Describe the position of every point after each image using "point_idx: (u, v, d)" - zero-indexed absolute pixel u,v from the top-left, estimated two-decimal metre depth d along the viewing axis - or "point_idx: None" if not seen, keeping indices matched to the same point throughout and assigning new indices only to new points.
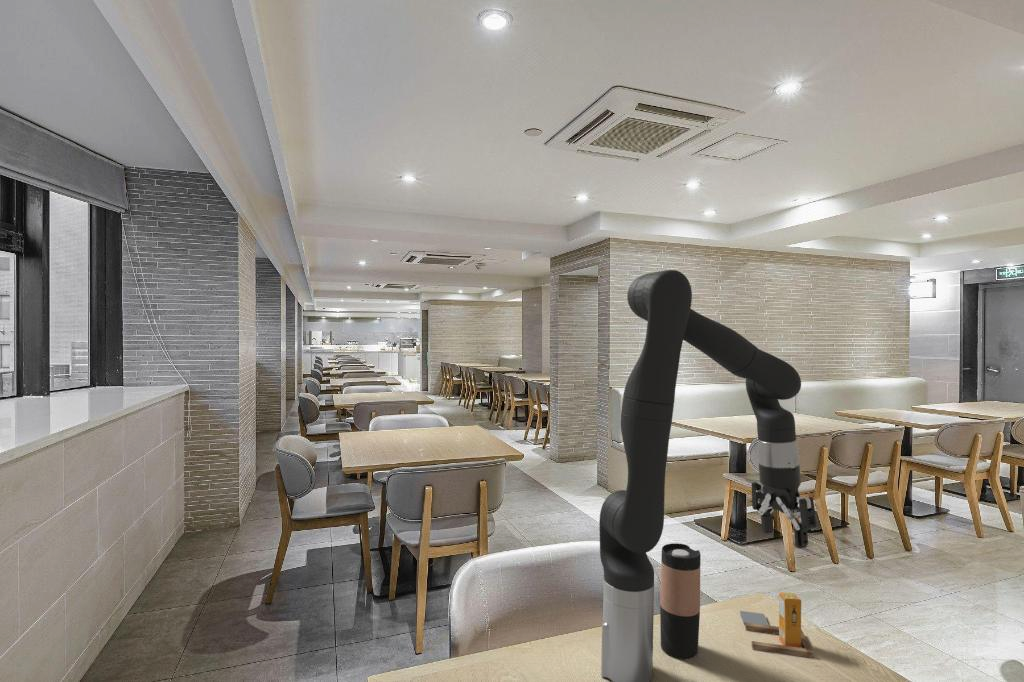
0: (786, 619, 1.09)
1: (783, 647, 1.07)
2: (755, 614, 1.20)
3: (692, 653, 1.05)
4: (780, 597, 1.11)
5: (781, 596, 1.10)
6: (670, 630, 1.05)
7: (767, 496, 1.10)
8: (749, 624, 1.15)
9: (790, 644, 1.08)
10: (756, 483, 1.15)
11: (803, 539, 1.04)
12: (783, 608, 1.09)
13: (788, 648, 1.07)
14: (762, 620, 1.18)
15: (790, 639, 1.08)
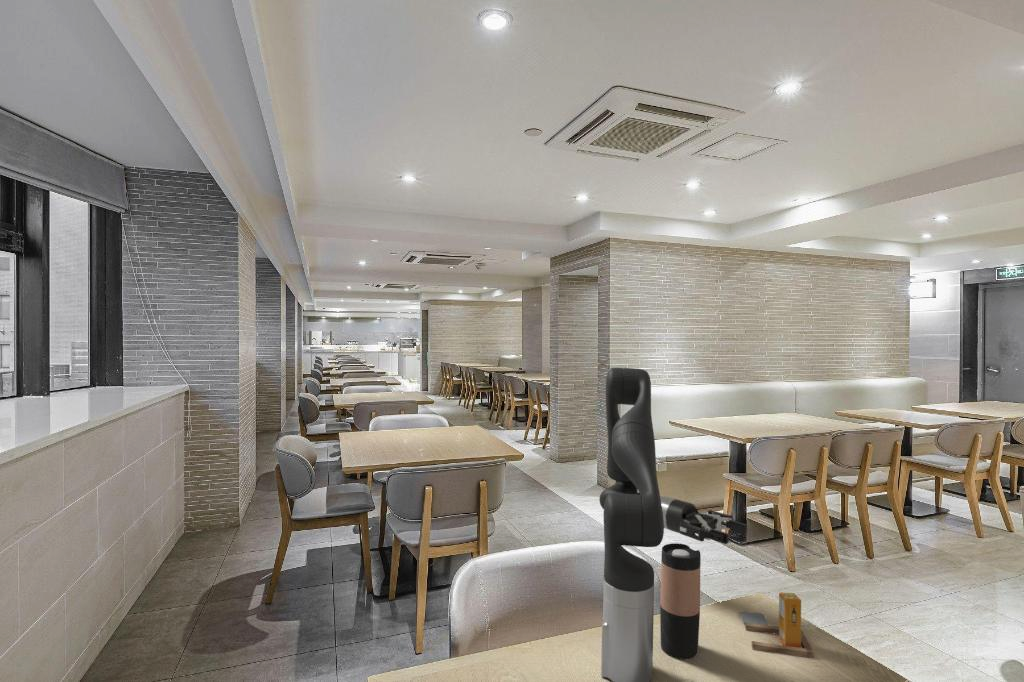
0: (786, 619, 1.09)
1: (783, 647, 1.07)
2: (755, 614, 1.20)
3: (692, 653, 1.05)
4: (780, 597, 1.11)
5: (781, 596, 1.10)
6: (670, 630, 1.05)
7: (697, 516, 1.24)
8: (749, 624, 1.15)
9: (790, 644, 1.08)
10: None
11: None
12: (783, 608, 1.09)
13: (788, 648, 1.07)
14: (762, 620, 1.18)
15: (790, 639, 1.08)
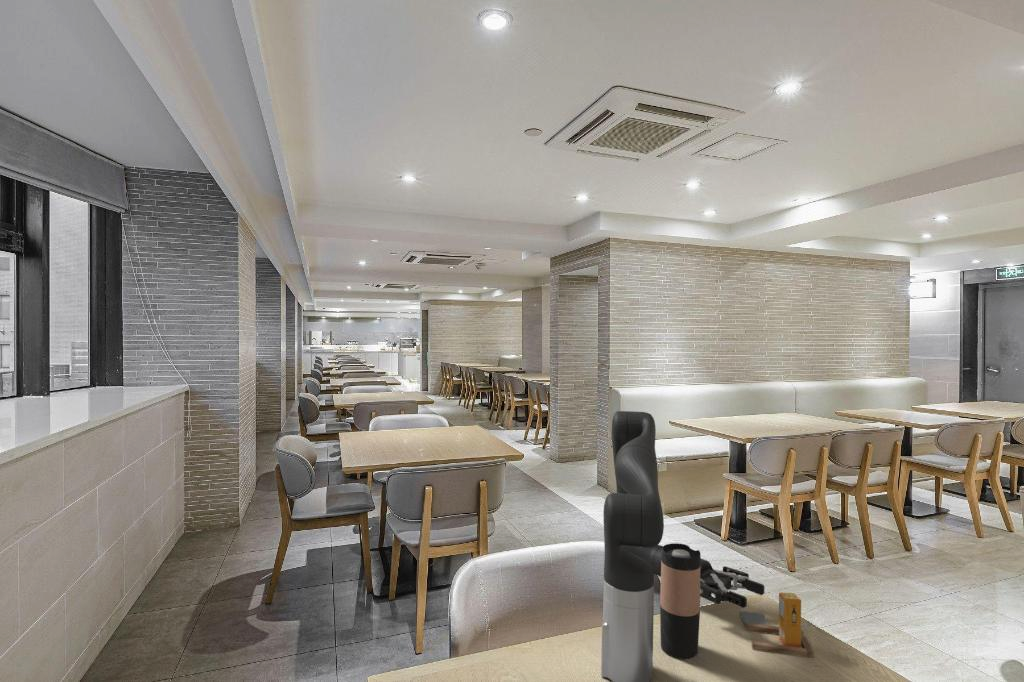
0: (786, 619, 1.09)
1: (783, 647, 1.07)
2: (755, 614, 1.20)
3: (692, 653, 1.05)
4: (780, 597, 1.11)
5: (781, 596, 1.10)
6: (670, 630, 1.05)
7: (712, 575, 1.21)
8: (749, 624, 1.15)
9: (790, 644, 1.08)
10: None
11: None
12: (783, 608, 1.09)
13: (788, 648, 1.07)
14: (762, 620, 1.18)
15: (790, 639, 1.08)
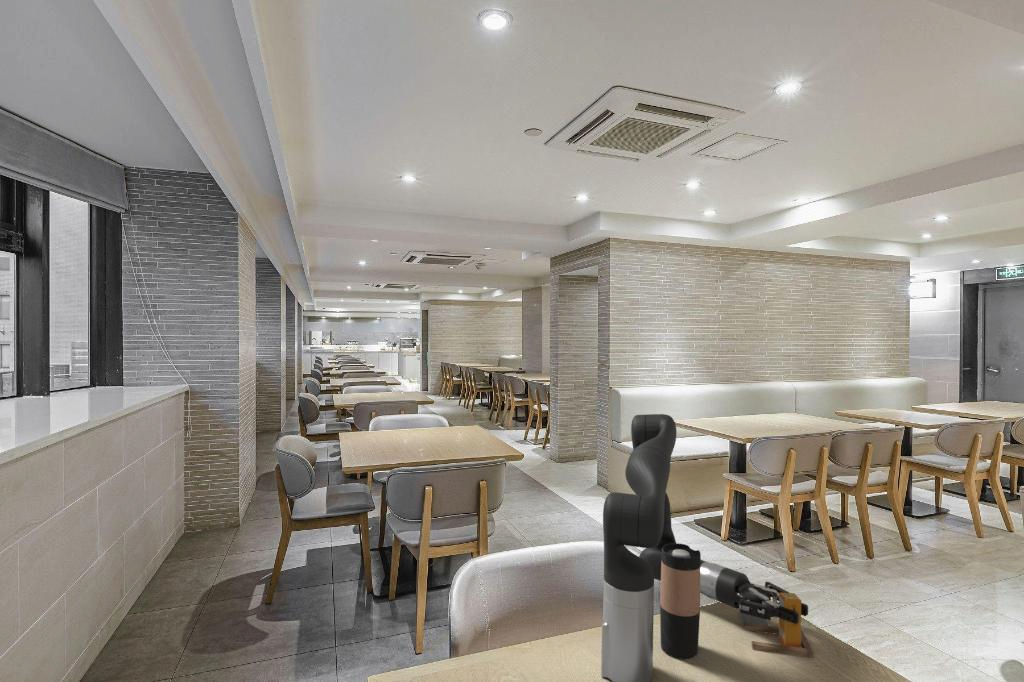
0: None
1: (783, 647, 1.07)
2: None
3: (692, 653, 1.05)
4: (780, 597, 1.11)
5: (781, 596, 1.10)
6: (670, 630, 1.05)
7: (752, 590, 1.14)
8: (749, 624, 1.15)
9: (790, 644, 1.08)
10: None
11: None
12: None
13: (788, 648, 1.07)
14: (762, 620, 1.18)
15: (790, 639, 1.08)
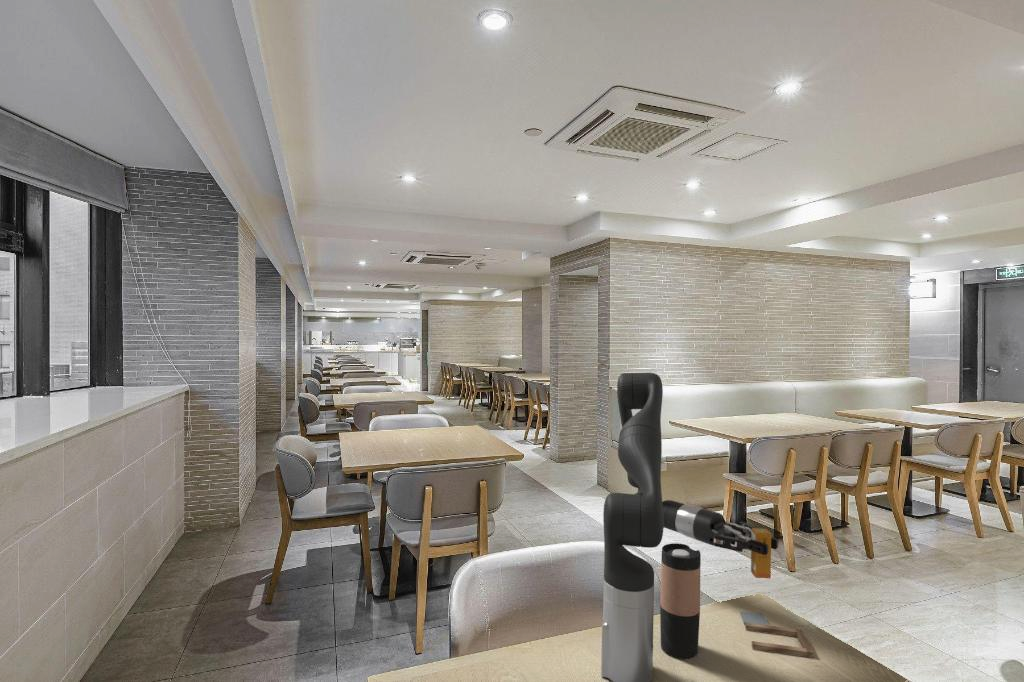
0: None
1: (783, 647, 1.07)
2: (755, 614, 1.20)
3: (692, 653, 1.05)
4: (752, 532, 1.18)
5: (753, 531, 1.18)
6: (670, 630, 1.05)
7: (726, 526, 1.22)
8: (749, 624, 1.15)
9: (760, 574, 1.16)
10: None
11: None
12: None
13: (788, 648, 1.07)
14: (762, 620, 1.18)
15: (760, 570, 1.16)
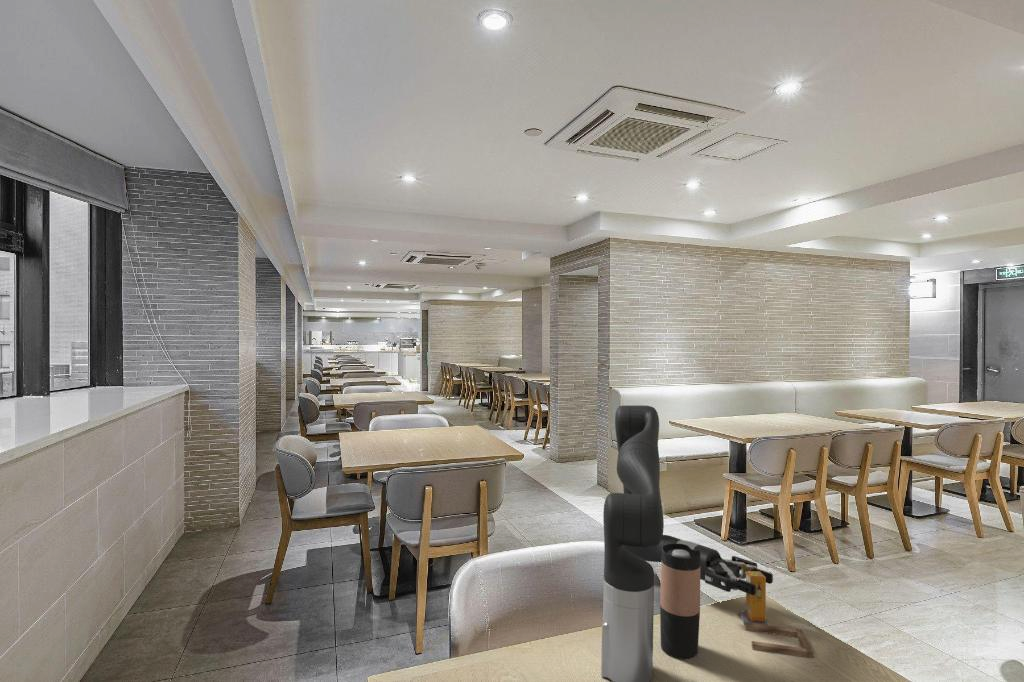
0: (751, 595, 1.17)
1: (783, 647, 1.07)
2: None
3: (692, 653, 1.05)
4: (747, 575, 1.19)
5: (748, 574, 1.19)
6: (670, 630, 1.05)
7: (721, 564, 1.23)
8: (749, 624, 1.15)
9: (755, 618, 1.17)
10: None
11: None
12: None
13: (788, 648, 1.07)
14: None
15: (755, 614, 1.17)
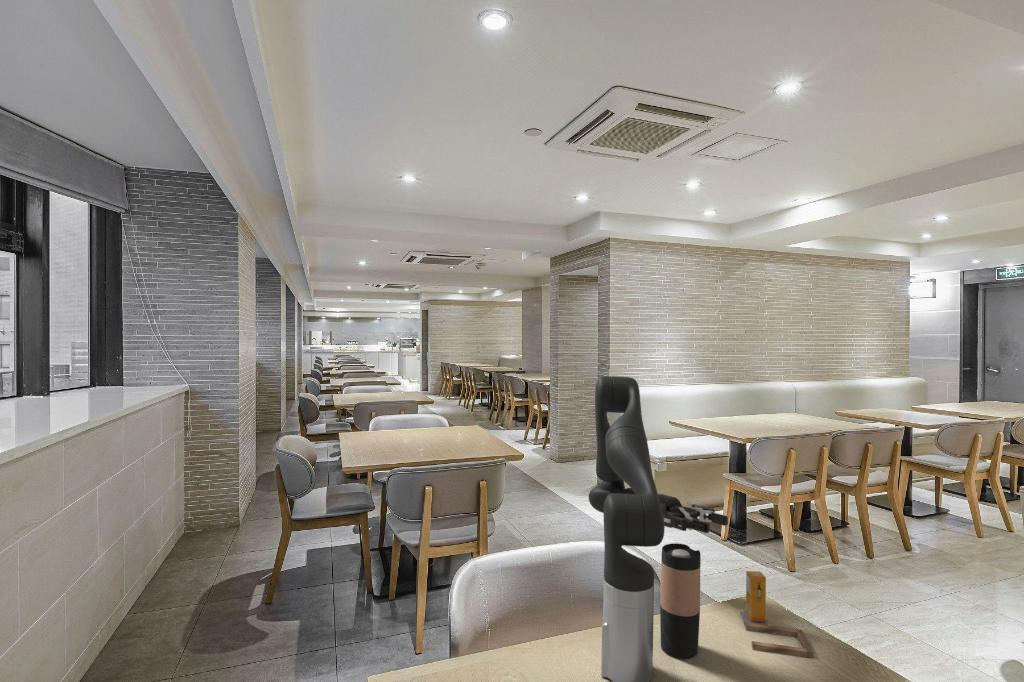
0: (751, 595, 1.17)
1: (783, 647, 1.07)
2: None
3: (692, 653, 1.05)
4: (747, 575, 1.19)
5: (748, 574, 1.19)
6: (670, 630, 1.05)
7: (680, 508, 1.30)
8: (749, 624, 1.15)
9: (755, 618, 1.17)
10: None
11: None
12: (749, 585, 1.18)
13: (788, 648, 1.07)
14: None
15: (755, 614, 1.17)
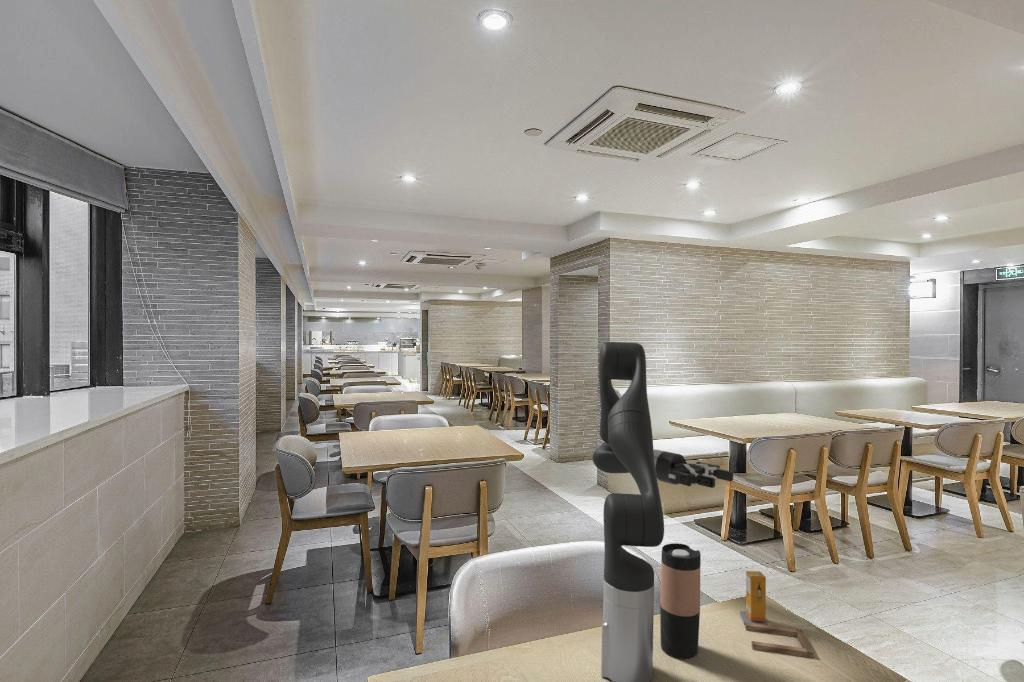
0: (751, 595, 1.17)
1: (783, 647, 1.07)
2: None
3: (692, 653, 1.05)
4: (747, 575, 1.19)
5: (748, 574, 1.19)
6: (670, 630, 1.05)
7: (685, 465, 1.29)
8: (749, 624, 1.15)
9: (755, 618, 1.17)
10: None
11: None
12: (749, 585, 1.18)
13: (788, 648, 1.07)
14: None
15: (755, 614, 1.17)
